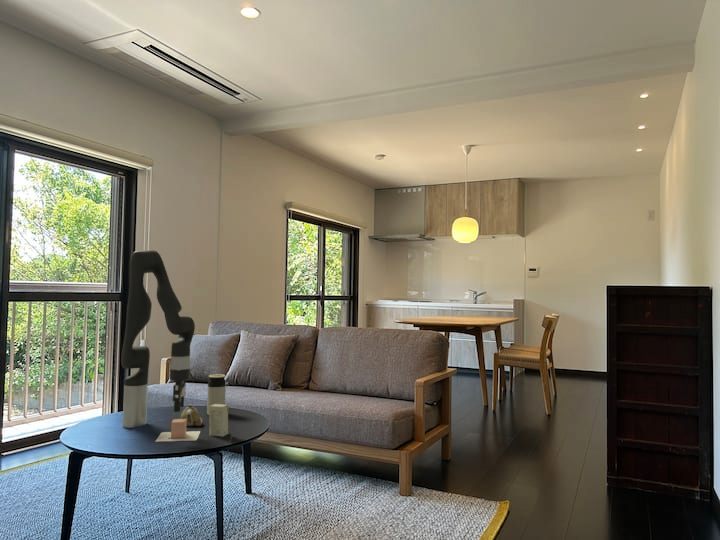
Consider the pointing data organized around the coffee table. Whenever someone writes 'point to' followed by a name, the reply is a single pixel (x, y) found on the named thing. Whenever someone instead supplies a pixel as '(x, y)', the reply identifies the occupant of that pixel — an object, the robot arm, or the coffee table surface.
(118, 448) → the coffee table surface
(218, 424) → the skincare box
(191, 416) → the ceramic sculpture
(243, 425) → the coffee table surface
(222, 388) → the travel mug
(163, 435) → the letter mat
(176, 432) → the terracotta block
